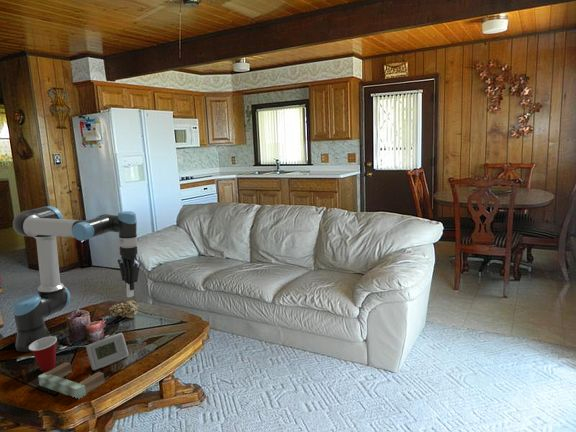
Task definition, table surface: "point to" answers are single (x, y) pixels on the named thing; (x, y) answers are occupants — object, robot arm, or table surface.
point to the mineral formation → (125, 309)
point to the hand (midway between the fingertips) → (130, 296)
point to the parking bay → (68, 387)
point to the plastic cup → (44, 352)
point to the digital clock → (107, 351)
